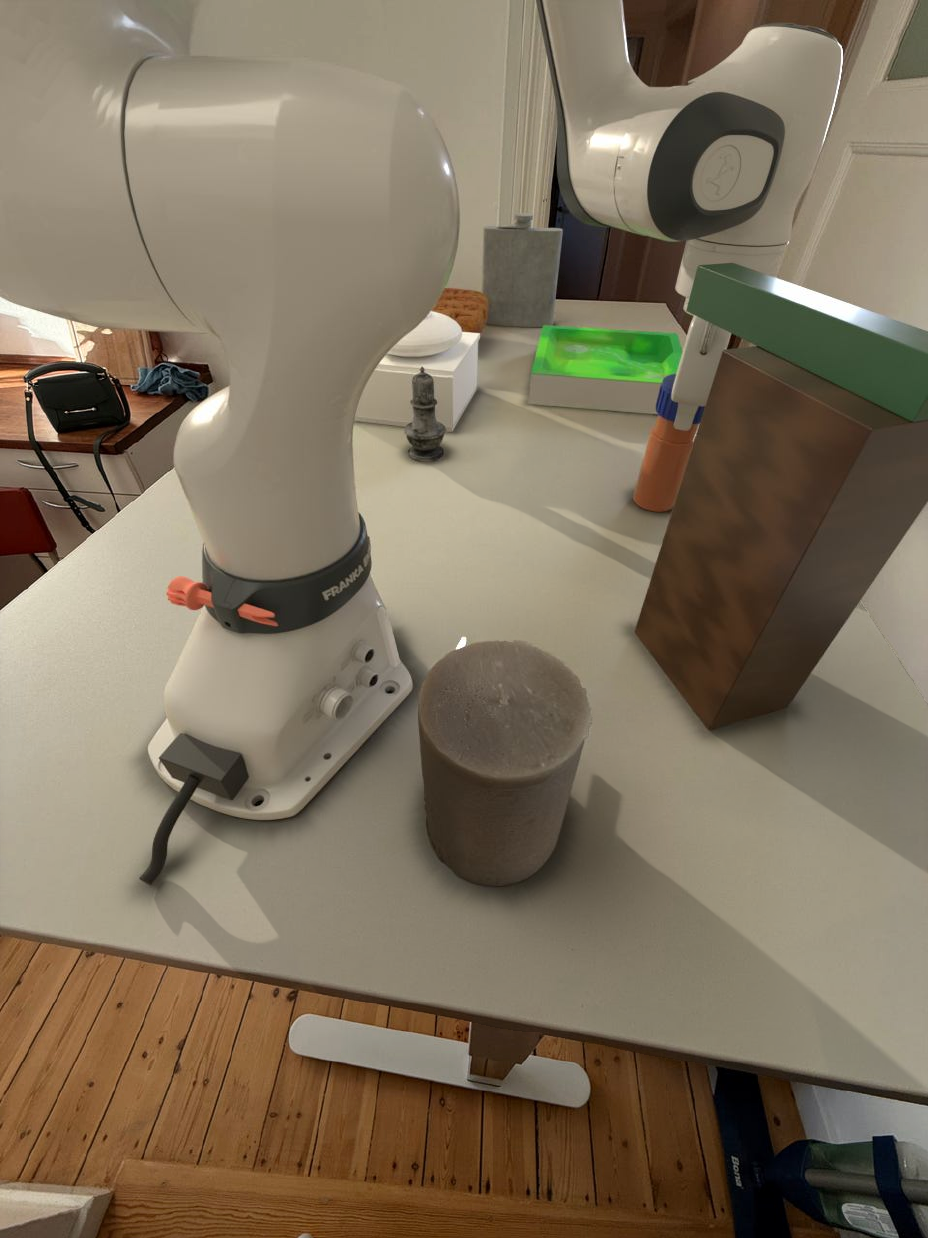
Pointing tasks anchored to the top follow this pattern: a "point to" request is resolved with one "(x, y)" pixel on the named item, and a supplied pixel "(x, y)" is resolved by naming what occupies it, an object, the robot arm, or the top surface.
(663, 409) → the jar lid
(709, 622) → the stand
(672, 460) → the jar
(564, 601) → the top surface
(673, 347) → the tray
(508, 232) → the hip flask
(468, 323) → the clay tablet
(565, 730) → the pillar candle
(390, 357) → the butter dish
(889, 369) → the rod
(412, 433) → the salt shaker
